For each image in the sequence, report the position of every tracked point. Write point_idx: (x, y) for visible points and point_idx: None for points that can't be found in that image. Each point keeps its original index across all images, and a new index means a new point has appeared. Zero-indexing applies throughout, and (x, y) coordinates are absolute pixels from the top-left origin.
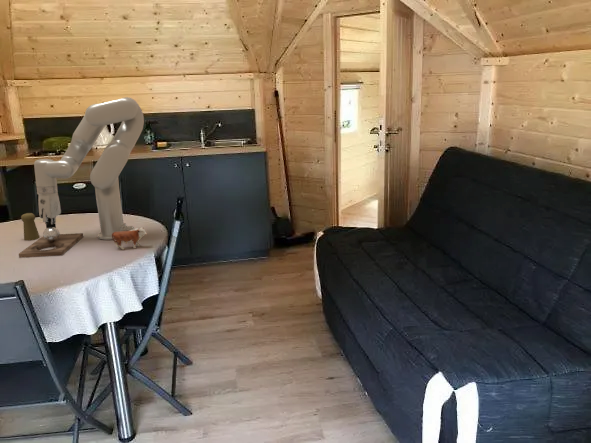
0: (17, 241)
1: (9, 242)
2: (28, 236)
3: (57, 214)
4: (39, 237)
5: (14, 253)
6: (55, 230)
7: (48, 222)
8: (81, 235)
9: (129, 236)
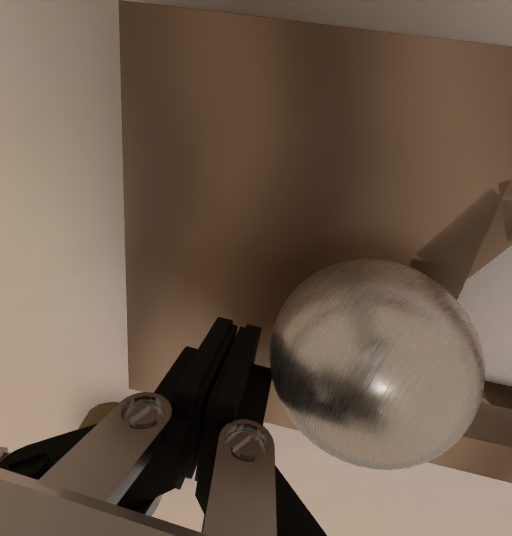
0: (179, 498)
1: (189, 526)
2: None
3: (46, 531)
4: (118, 403)
5: (464, 506)
6: (447, 336)
7: (296, 522)
8: (184, 12)
9: None
